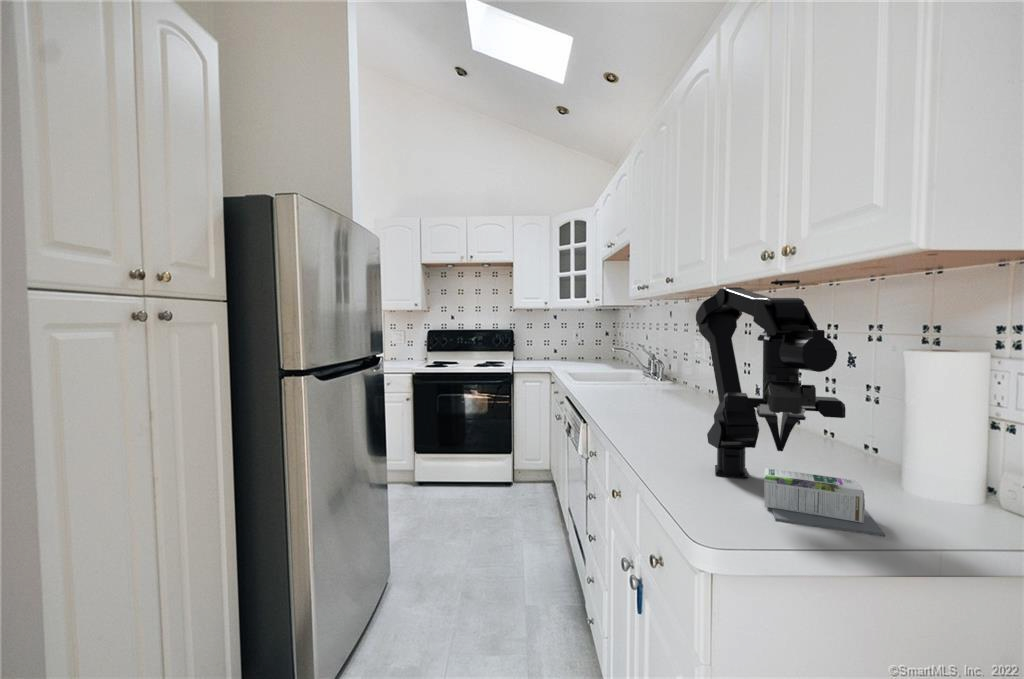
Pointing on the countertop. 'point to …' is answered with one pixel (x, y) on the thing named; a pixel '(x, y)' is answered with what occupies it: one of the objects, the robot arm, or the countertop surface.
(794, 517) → the mat
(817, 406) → the robot arm
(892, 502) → the countertop surface
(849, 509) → the syrup box
